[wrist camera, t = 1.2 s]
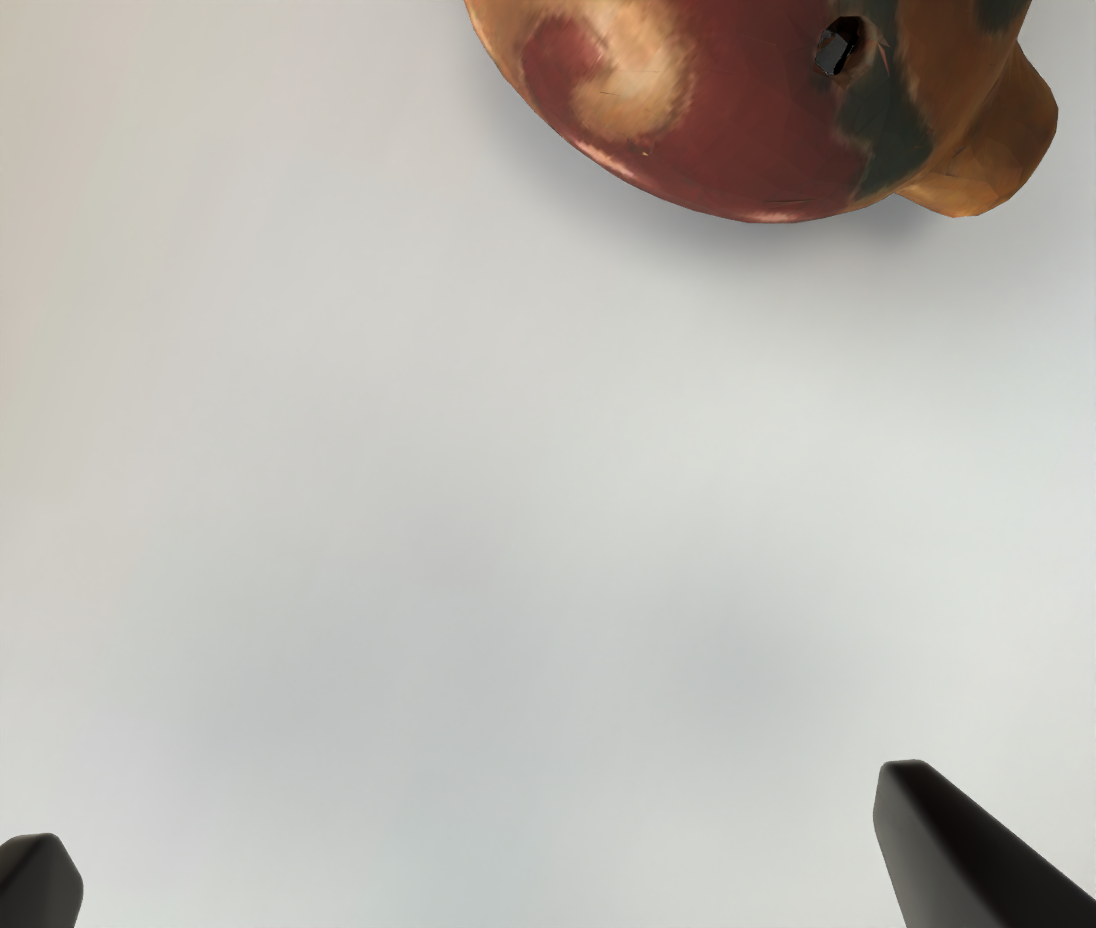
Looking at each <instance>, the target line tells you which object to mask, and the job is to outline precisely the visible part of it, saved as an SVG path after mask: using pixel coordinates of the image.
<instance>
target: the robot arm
mask: <svg viewBox="0 0 1096 928" xmlns="http://www.w3.org/2000/svg"><path fill="white" fill-rule="evenodd" d="M873 822H874V828H875V833H876V836H877V839H878V842H879V845H880V848H881V851H882V854H883V857H884V860H885V863H886V867H887V870H888V873H889V876H890V879H891V882H892V885H893V888H894V891H895V894H896V897H897V900H898V903H899V906H900V909H901V912H902V915H903V918H904V921H905V924H906V927H907V928H1096V900H1095V899H1093V898H1092V897H1091V896H1090V895H1089V894H1087V893H1086V892H1085V891H1084V890H1082V889H1081V888H1080V887H1079V886H1078V885H1076V884H1075V883H1074V882H1073V881H1071V880H1070V879H1069V878H1068V877H1066V876H1065V875H1064V874H1063V873H1062V872H1060V871H1059V870H1058V869H1057V868H1055V867H1054V866H1053V865H1052V864H1051V863H1049V862H1048V861H1047V860H1046V859H1044V858H1043V857H1042V856H1041V855H1040V854H1038V853H1037V852H1036V851H1035V850H1033V849H1032V848H1031V847H1030V846H1028V845H1027V844H1026V843H1025V842H1024V841H1022V840H1021V839H1020V838H1019V837H1017V836H1016V835H1015V834H1014V833H1013V832H1011V831H1010V830H1009V829H1008V828H1006V827H1005V826H1004V825H1003V824H1001V823H1000V822H999V821H998V820H997V819H995V818H994V817H993V816H992V815H990V814H989V813H988V812H987V811H986V810H984V809H983V808H982V807H981V806H979V805H978V804H977V803H976V802H974V801H973V800H972V799H971V798H970V797H968V796H967V795H966V794H965V793H963V792H962V791H961V790H960V789H959V788H957V787H956V786H955V785H954V784H952V783H951V782H950V781H949V780H948V779H946V778H945V777H944V776H943V775H941V774H940V773H939V772H938V771H936V770H935V769H934V768H933V767H932V766H930V765H929V764H928V763H926V762H924V761H921V760H916V759H912V760H900V761H889V762H886V763H884V764H883V766H882V767H881V769H880V773H879V779H878V785H877V791H876V797H875V803H874V809H873ZM82 899H83V881H82V878H81V875H80V873H79V872H78V870H77V868H76V866H75V865H74V863H73V861H72V859H71V858H70V856H69V854H68V852H67V851H66V849H65V847H64V845H63V844H62V842H61V840H60V839H59V838H58V837H57V836H56V835H54V834H52V833H41V834H29V835H20V836H16V837H13V838H11V839H9V840H8V841H6V842H5V843H4V844H2V845H1V846H0V928H74V926H75V923H76V920H77V916H78V913H79V910H80V907H81V903H82Z"/></svg>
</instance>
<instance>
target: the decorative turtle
mask: <svg viewBox="0 0 1096 928" xmlns="http://www.w3.org/2000/svg"><path fill="white" fill-rule="evenodd" d="M1031 1H1032V0H464V2H465V5H466V8H467V11H468V14H469V17H470V19H471V22H472V25H473V28H474V30H475V32H476V34H477V36H478V37H479V39H480V41H481V42H482V44H483V46H484V48H485V49H486V51H487V53H488V54H489V55H490V57H491V58H492V59H493V61H494V62H495V64H496V65H497V67H498V69H499V70H500V72H501V74H502V75H503V77H504V78H505V79H506V80H507V81H508V82H509V83H510V84H511V85H512V86H513V87H514V89H515V90H516V91H517V92H518V93H519V94H520V95H521V97H522V98H523V99H524V100H525V101H526V102H527V104H528V105H529V106H530V107H531V108H532V109H533V110H534V112H535V113H536V114H537V115H539V116H540V117H541V118H542V119H543V120H544V121H545V122H546V123H547V124H548V125H549V126H550V127H551V128H553V129H554V130H555V131H556V132H557V133H558V134H559V135H560V136H561V137H563V138H564V139H565V140H566V141H567V142H569V143H570V144H571V145H572V146H573V147H575V148H576V149H577V150H579V151H580V152H582V153H583V154H584V155H586V156H587V157H589V158H590V159H592V160H593V161H594V162H596V163H597V164H599V165H600V166H601V167H603V168H604V169H606V170H607V171H609V172H610V173H612V174H613V175H615V176H617V177H618V178H620V179H622V180H623V181H625V182H627V183H629V184H631V185H633V186H635V187H637V188H639V189H641V190H643V191H645V192H647V193H650V194H652V195H654V196H656V197H658V198H661V199H663V200H666V201H668V202H671V203H674V204H677V205H680V206H683V207H685V208H688V209H691V210H694V211H697V212H702V213H706V214H710V215H714V216H718V217H722V218H726V219H731V220H736V221H741V222H746V223H798V222H804V221H810V220H816V219H822V218H826V217H830V216H834V215H838V214H842V213H846V212H850V211H854V210H858V209H861V208H865V207H867V206H869V205H872V204H874V203H876V202H878V201H880V200H882V199H884V198H886V197H887V196H889V195H891V194H892V193H896V194H899V195H901V196H903V197H905V198H907V199H909V200H911V201H913V202H915V203H917V204H919V205H921V206H923V207H925V208H927V209H929V210H931V211H934V212H937V213H940V214H943V215H946V216H949V217H952V218H955V217H963V216H978V215H980V214H983V213H985V212H987V211H989V210H991V209H993V208H995V207H996V206H998V205H1000V204H1002V203H1004V202H1006V201H1007V200H1009V199H1010V198H1011V197H1012V196H1013V195H1014V194H1015V193H1016V192H1017V191H1018V190H1019V189H1020V188H1021V187H1022V186H1023V185H1024V184H1025V183H1026V182H1027V180H1028V179H1029V178H1030V176H1031V175H1032V174H1033V172H1034V171H1035V169H1036V168H1037V166H1038V165H1039V163H1040V162H1041V160H1042V158H1043V156H1044V155H1045V153H1046V151H1047V150H1048V148H1049V146H1050V144H1051V142H1052V140H1053V138H1054V135H1055V133H1056V128H1057V120H1058V106H1057V104H1056V101H1055V99H1054V96H1053V94H1052V91H1051V89H1050V87H1049V86H1048V85H1047V83H1046V82H1045V81H1044V79H1043V78H1042V77H1041V76H1040V74H1039V73H1038V72H1037V71H1036V69H1035V68H1034V67H1033V66H1032V64H1031V63H1030V62H1029V61H1028V59H1027V58H1026V56H1025V55H1024V53H1023V51H1022V49H1021V47H1020V45H1019V43H1018V41H1017V36H1018V34H1019V31H1020V29H1021V26H1022V24H1023V21H1024V19H1025V16H1026V14H1027V11H1028V9H1029V6H1030V4H1031ZM825 29H826V30H829V31H831V32H834V33H838V34H839V35H840V36H841V37H842V38H843V39H844V40H845V41H846V42H847V43H848V45H847V47H846V49H845V51H844V53H843V55H842V57H841V58H840V60H839V61H838V62H837V64H836V66H835V68H834V70H833V73H834V75H827V74H826V73H825V72H824V71H823V70H822V69H821V68H820V67H819V66H818V65H817V63H816V62H815V57H816V53H817V52H818V51H819V50H821V49H822V48H823V47H825V46H826V45H828V44H829V43H830V42H831V41H832V40H833V39H834V38H835V37H836V36H835V35H834V34H833V33H831V37H830V38H824V40H823V41H822V43H821V45H820V46H819V48H818V44H819V41H820V38H821V36H822V33H823V31H824V30H825ZM853 44H854V47H853V48H852V46H853ZM817 48H818V49H817ZM851 48H852V50H851ZM850 50H851V52H850V55H849V56H848V57H847V55H848V53H849V51H850ZM846 57H847V58H846Z"/></svg>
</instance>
